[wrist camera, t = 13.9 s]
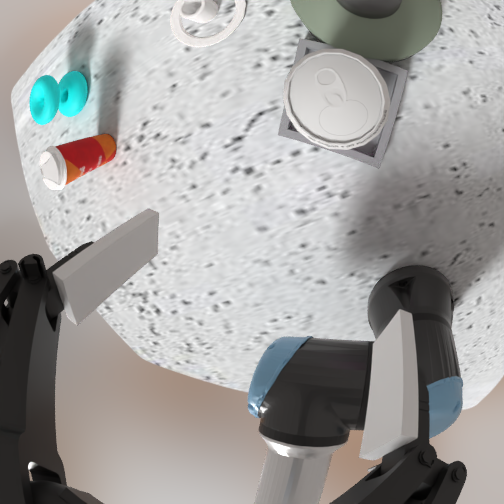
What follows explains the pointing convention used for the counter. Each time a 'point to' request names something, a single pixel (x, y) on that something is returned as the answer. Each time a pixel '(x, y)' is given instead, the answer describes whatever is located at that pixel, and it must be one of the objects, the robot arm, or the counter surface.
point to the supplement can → (336, 99)
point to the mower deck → (368, 49)
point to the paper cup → (75, 159)
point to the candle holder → (202, 20)
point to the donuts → (58, 96)
